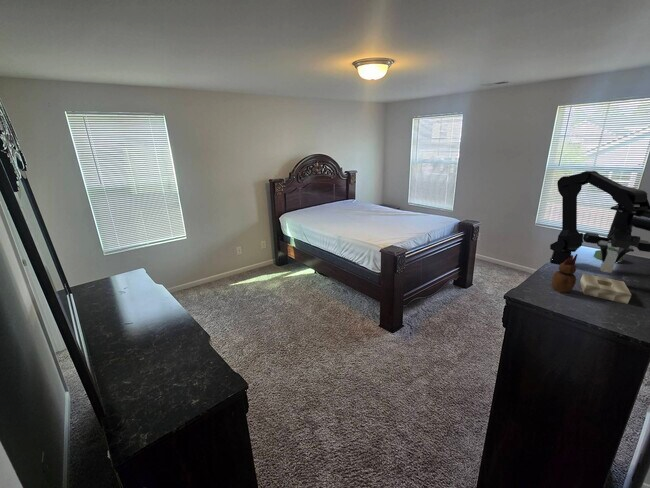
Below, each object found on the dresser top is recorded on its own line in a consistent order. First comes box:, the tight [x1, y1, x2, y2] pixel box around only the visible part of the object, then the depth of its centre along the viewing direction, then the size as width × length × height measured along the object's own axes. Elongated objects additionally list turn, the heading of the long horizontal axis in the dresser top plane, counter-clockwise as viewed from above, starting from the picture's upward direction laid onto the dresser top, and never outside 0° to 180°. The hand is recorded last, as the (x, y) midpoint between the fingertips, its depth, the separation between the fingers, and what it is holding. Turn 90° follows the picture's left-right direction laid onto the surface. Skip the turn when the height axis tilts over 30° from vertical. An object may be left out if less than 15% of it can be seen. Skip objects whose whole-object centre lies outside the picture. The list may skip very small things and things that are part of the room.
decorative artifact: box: [593, 245, 624, 262], centre depth 143 cm, size 10×7×10 cm
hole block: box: [579, 273, 632, 305], centre depth 112 cm, size 12×12×4 cm
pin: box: [599, 250, 618, 274], centre depth 118 cm, size 3×3×8 cm
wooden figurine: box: [551, 253, 578, 294], centre depth 111 cm, size 7×6×15 cm
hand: (608, 262), depth 118 cm, fingers closed on pin, 3 cm apart
